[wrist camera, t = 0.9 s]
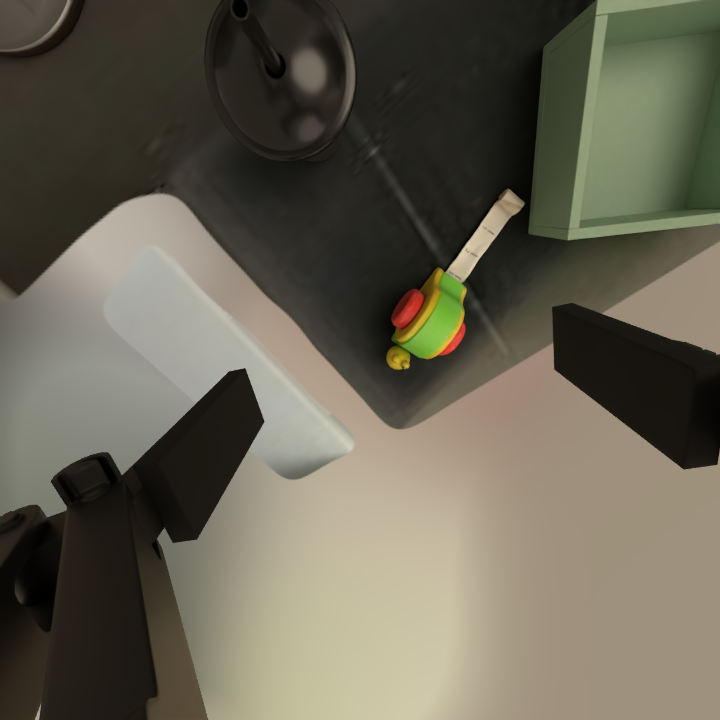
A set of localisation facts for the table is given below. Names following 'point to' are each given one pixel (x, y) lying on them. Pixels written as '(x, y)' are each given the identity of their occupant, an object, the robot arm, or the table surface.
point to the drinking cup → (282, 76)
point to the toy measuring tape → (444, 295)
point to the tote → (629, 121)
